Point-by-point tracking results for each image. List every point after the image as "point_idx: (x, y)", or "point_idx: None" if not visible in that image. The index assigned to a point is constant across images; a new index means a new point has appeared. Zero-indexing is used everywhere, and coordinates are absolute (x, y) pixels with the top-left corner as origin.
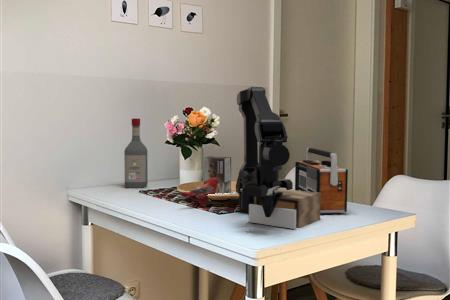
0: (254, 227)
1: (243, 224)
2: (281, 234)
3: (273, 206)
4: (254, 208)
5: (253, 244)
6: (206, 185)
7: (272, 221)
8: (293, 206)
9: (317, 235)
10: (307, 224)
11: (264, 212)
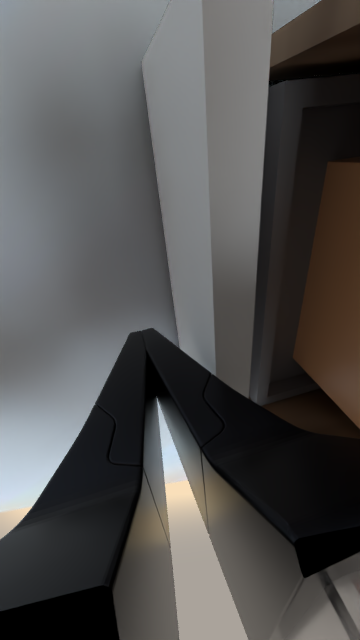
0: (56, 240)
1: (44, 62)
2: (73, 430)
3: (178, 453)
4: (189, 140)
5: None
6: None
7: (180, 322)
8: (355, 415)
9: (174, 476)
10: None
11: (120, 357)
